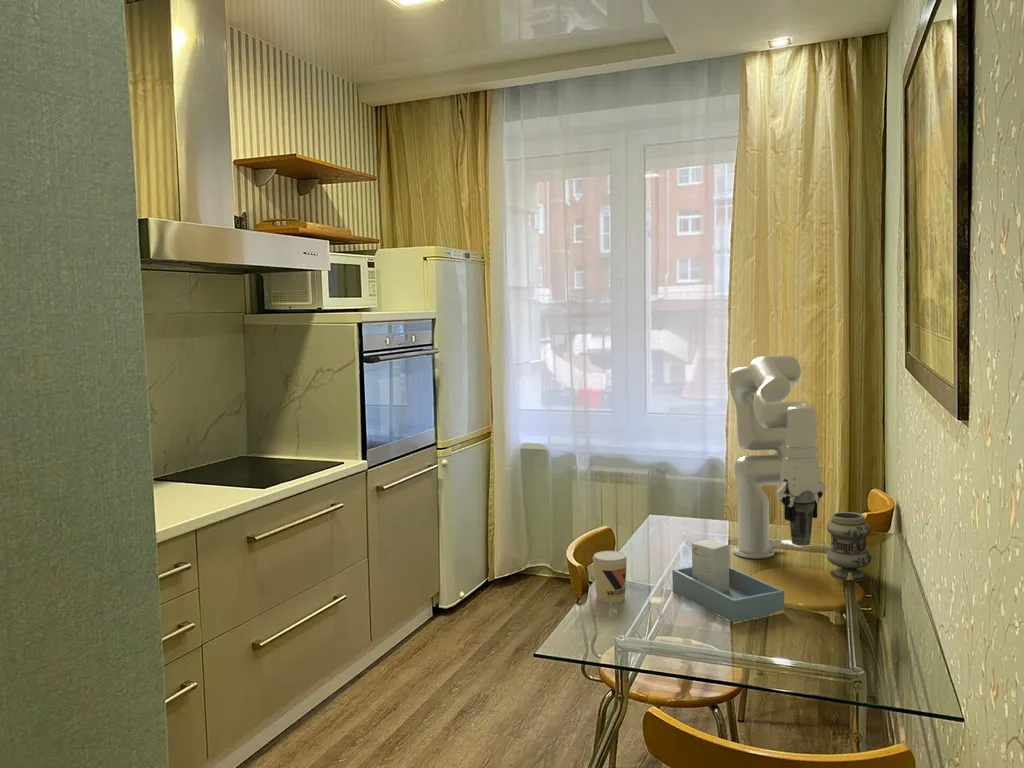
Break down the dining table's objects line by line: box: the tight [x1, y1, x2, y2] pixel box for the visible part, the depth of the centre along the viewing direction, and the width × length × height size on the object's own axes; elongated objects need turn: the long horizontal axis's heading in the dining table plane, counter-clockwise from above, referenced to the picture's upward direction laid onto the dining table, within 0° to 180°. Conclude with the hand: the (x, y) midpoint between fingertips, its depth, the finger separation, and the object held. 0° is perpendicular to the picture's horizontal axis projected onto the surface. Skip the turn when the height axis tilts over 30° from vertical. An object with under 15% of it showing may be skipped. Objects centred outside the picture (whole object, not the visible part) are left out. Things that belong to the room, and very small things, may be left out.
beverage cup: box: [789, 490, 815, 547], centre depth 215 cm, size 7×7×20 cm
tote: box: [671, 565, 785, 622], centre depth 218 cm, size 16×28×6 cm, turn 22°
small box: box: [691, 539, 730, 593], centre depth 224 cm, size 8×6×13 cm
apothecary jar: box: [826, 511, 872, 582], centre depth 235 cm, size 12×12×18 cm
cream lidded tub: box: [592, 550, 628, 604], centre depth 223 cm, size 9×9×12 cm
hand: (800, 518), depth 215 cm, fingers closed on beverage cup, 6 cm apart
